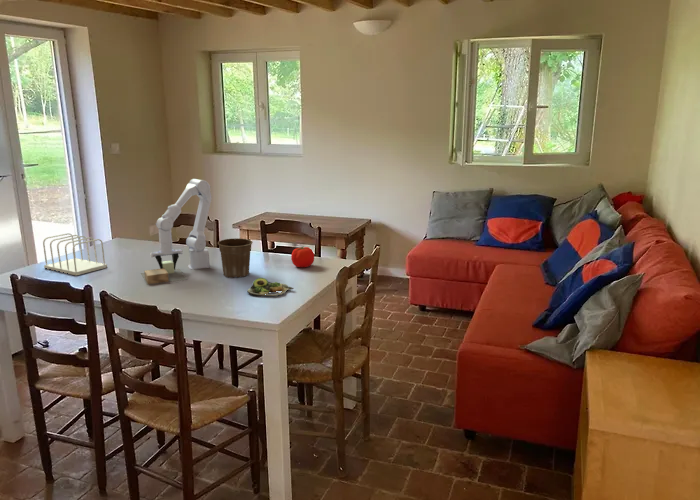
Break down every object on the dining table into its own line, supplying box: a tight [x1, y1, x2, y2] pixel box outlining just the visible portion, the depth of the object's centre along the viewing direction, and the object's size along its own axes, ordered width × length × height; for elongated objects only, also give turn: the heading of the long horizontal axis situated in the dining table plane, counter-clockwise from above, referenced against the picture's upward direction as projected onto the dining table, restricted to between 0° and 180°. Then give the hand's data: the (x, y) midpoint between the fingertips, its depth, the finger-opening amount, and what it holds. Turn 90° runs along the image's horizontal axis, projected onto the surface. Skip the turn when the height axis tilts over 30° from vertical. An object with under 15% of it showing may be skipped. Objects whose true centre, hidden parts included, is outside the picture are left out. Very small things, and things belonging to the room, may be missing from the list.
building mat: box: [140, 268, 188, 285], centre depth 262 cm, size 18×20×1 cm
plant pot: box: [217, 237, 253, 279], centre depth 265 cm, size 16×16×16 cm
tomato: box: [290, 246, 315, 268], centre depth 280 cm, size 12×12×10 cm
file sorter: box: [42, 233, 108, 276], centre depth 274 cm, size 25×17×16 cm
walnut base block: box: [143, 268, 170, 285], centre depth 255 cm, size 9×9×4 cm
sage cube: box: [162, 260, 174, 274], centre depth 268 cm, size 5×5×5 cm
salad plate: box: [246, 277, 295, 297], centre depth 243 cm, size 19×18×5 cm
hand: (167, 269), depth 268 cm, fingers open, 5 cm apart
